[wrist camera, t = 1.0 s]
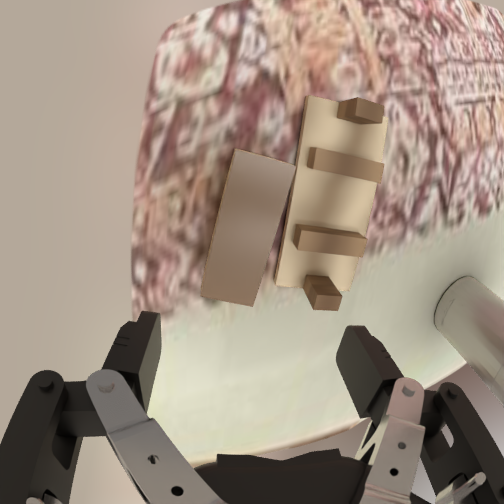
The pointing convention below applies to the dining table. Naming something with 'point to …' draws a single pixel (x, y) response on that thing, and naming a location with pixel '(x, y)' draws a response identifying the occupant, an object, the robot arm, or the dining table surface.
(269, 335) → the dining table surface
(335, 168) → the display cradle
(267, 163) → the brown rectangular box
